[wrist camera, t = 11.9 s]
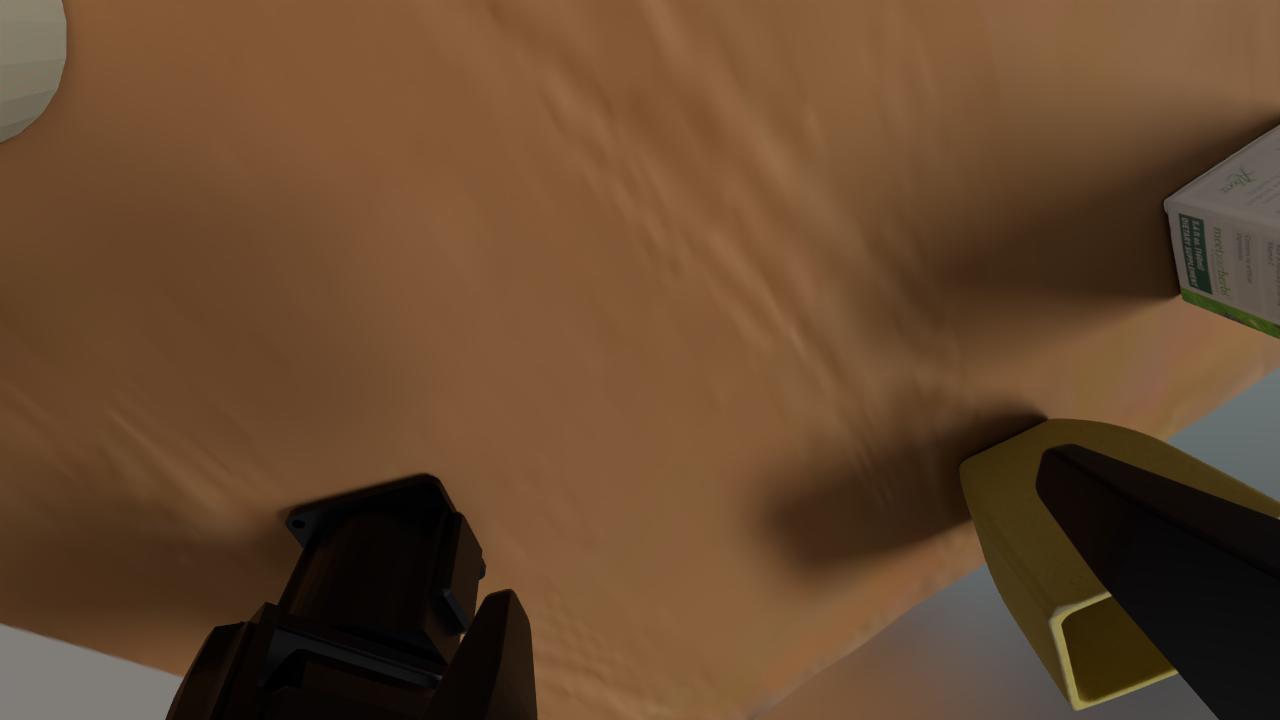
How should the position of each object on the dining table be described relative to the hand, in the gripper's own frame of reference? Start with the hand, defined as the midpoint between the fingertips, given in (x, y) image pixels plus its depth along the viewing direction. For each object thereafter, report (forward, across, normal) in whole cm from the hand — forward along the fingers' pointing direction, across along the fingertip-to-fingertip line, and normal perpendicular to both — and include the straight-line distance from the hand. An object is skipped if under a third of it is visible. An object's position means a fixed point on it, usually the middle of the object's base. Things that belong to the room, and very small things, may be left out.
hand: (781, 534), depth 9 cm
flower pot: (+13, -16, +16) cm, 26 cm away
